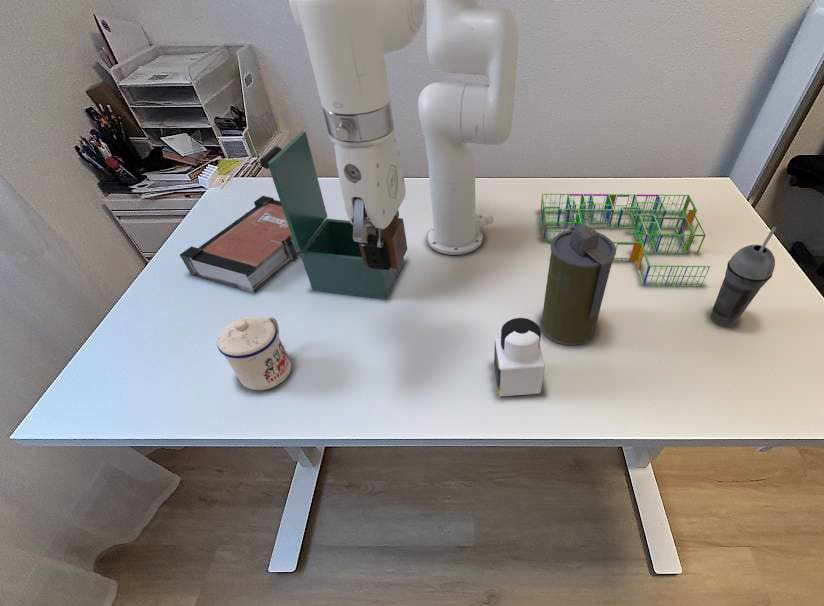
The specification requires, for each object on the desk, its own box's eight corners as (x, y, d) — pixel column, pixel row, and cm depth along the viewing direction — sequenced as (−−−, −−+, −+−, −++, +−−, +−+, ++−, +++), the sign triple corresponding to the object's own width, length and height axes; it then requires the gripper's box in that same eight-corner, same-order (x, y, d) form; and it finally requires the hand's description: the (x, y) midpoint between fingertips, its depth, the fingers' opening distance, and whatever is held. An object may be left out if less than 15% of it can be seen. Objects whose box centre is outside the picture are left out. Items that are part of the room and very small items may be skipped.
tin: (404, 262, 100) (398, 225, 93) (385, 299, 92) (378, 262, 85) (336, 254, 102) (326, 218, 95) (312, 290, 94) (299, 253, 87)
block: (375, 245, 68) (368, 215, 64) (407, 249, 67) (403, 218, 63) (364, 265, 65) (356, 234, 61) (397, 269, 64) (392, 238, 60)
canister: (529, 319, 88) (539, 225, 72) (572, 301, 91) (590, 208, 76) (563, 355, 81) (582, 260, 66) (608, 334, 85) (636, 239, 70)
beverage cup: (742, 310, 89) (796, 216, 74) (743, 335, 84) (801, 240, 69) (703, 303, 90) (748, 208, 75) (702, 326, 86) (750, 231, 71)
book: (257, 293, 93) (247, 273, 89) (191, 274, 97) (179, 254, 94) (329, 228, 109) (324, 209, 105) (270, 214, 113) (262, 195, 109)
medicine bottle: (493, 365, 80) (495, 313, 71) (534, 363, 80) (540, 310, 71) (498, 397, 75) (500, 346, 66) (541, 394, 76) (549, 343, 66)
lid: (305, 131, 82) (279, 129, 83) (271, 163, 74) (243, 160, 74) (327, 216, 95) (305, 213, 95) (300, 251, 87) (276, 248, 87)
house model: (681, 211, 113) (688, 193, 109) (718, 286, 94) (727, 266, 90) (539, 210, 114) (541, 191, 110) (547, 284, 95) (550, 264, 91)
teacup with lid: (280, 395, 76) (253, 345, 67) (229, 389, 77) (196, 339, 68) (307, 344, 84) (287, 294, 75) (261, 339, 84) (235, 289, 76)
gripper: (366, 156, 46) (393, 296, 60) (411, 94, 57) (426, 226, 71) (296, 150, 47) (339, 290, 61) (354, 91, 58) (379, 221, 72)
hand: (385, 254), depth 66 cm, fingers closed on block, 5 cm apart
